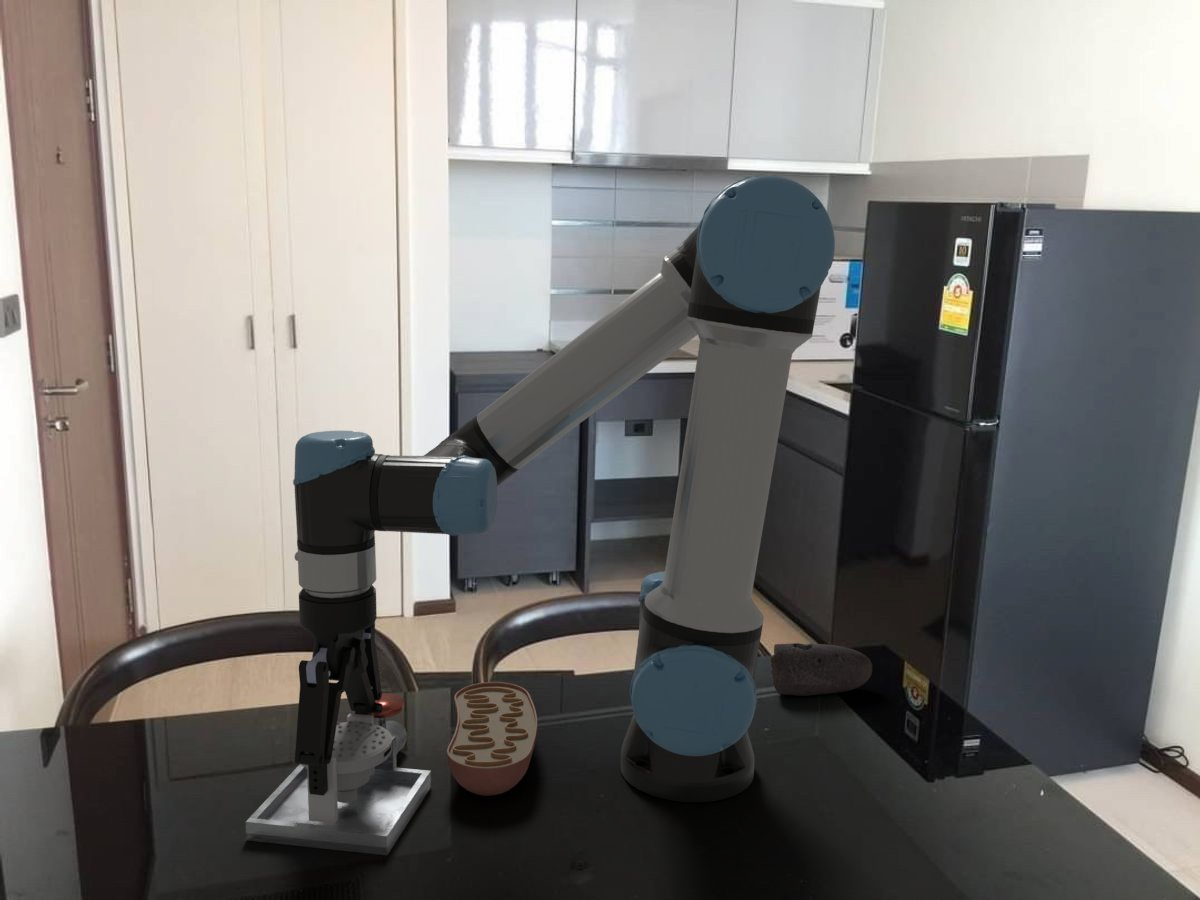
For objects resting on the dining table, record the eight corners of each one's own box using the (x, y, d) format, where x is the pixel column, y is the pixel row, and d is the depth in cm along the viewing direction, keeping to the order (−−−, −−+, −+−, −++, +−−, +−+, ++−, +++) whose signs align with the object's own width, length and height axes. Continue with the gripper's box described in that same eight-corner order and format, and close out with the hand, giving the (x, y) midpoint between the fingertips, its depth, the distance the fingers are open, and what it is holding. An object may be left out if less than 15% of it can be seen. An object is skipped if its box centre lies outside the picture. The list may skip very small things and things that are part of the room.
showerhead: (318, 708, 112) (405, 717, 110) (320, 771, 113) (406, 781, 111) (274, 746, 103) (369, 757, 101) (277, 814, 104) (370, 826, 102)
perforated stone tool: (863, 682, 145) (866, 635, 144) (879, 698, 140) (882, 649, 139) (759, 687, 143) (762, 639, 142) (771, 703, 138) (774, 653, 137)
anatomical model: (456, 719, 131) (456, 682, 130) (535, 718, 132) (535, 680, 131) (444, 813, 109) (444, 768, 108) (539, 810, 110) (539, 766, 109)
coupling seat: (387, 855, 100) (385, 784, 99) (246, 840, 103) (243, 770, 101) (452, 754, 121) (451, 694, 120) (334, 744, 124) (332, 685, 122)
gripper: (345, 555, 115) (350, 744, 119) (249, 619, 94) (259, 848, 98) (410, 559, 114) (413, 750, 118) (328, 625, 93) (335, 856, 97)
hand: (343, 795), depth 108 cm, fingers closed on showerhead, 9 cm apart
